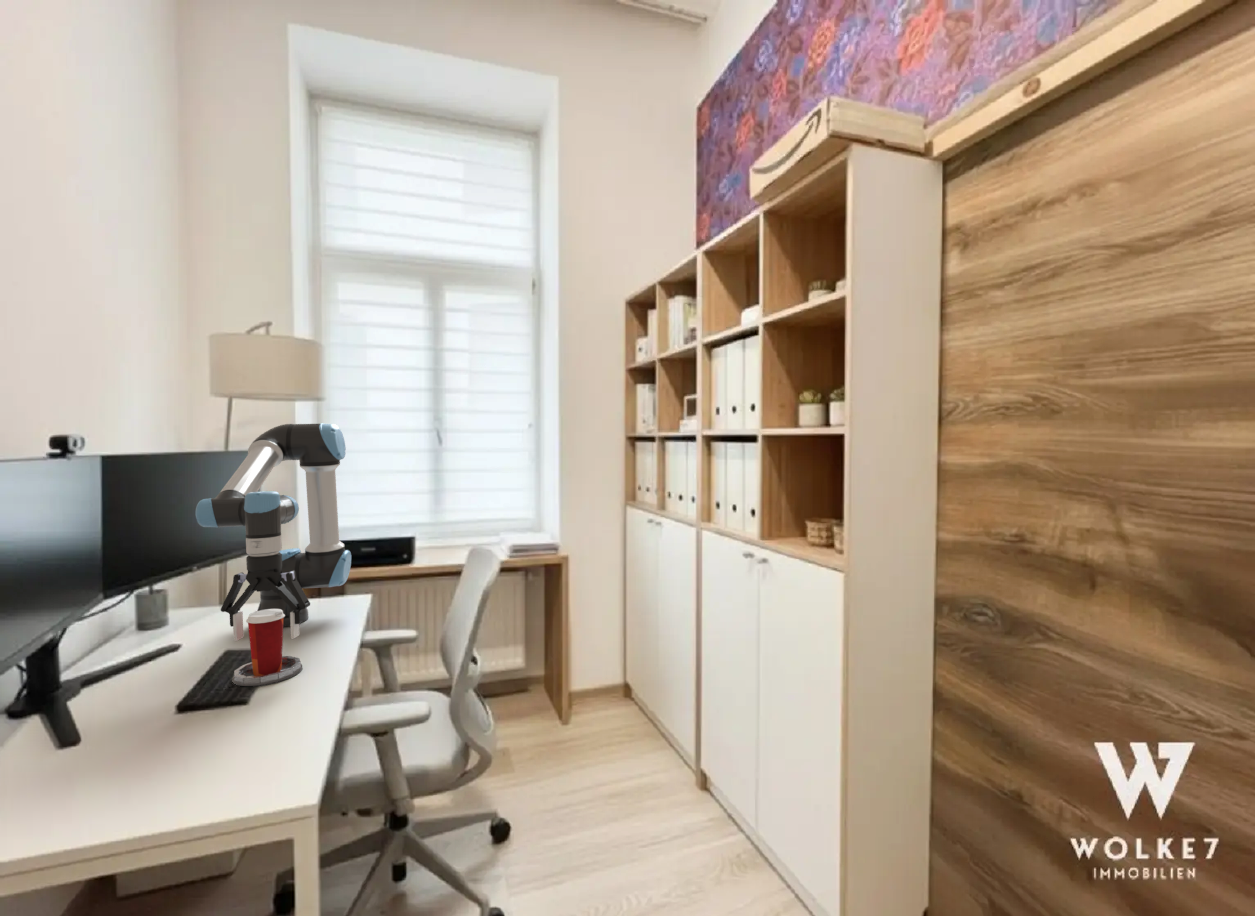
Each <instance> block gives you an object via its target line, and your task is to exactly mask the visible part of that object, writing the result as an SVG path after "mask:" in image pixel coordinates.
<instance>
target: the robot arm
mask: <svg viewBox="0 0 1255 916" xmlns="http://www.w3.org/2000/svg"><path fill="white" fill-rule="evenodd" d="M346 448H347V447H346V441H345V438H344V435H343V432H342V430H341V428H340V427H339V426H338V425H336V424H335V423H322V422H321V423H286V424H281V425H278V426H275V427H272V428H270V429H269V430H266V431H264V432H263V433H261V434H260V435H259V436H258V437H256V438H255V439H254V440H253V441H252V442H251V444H250V445H249V447H248V448H247V455H246V457H245V458H244V460H243V461H242V462H241V464H240V465H239V466H238V468H237V469H236V470H235V471H234V473H233V474H232V475H231V477H230V478H229V480H227V482H226V483H225V485H224V486H223V488H222V489H221V490H220V492H219V493H218V494H217V495H216V497H215V498H214V497H209V498H203V499H201V500H199V501H198V503H197V504H196V506H195V507H196V508H195V519H196V522H197V524H198V525H199V526H200V527H203V528H228V527H232V528H233V527H245V548H246V550H245V551H246V554H247V556H246V557H245V558H246V571H247V573H244V572H243V571H242V572H239V573H236V574H234V575H233V579H232V580H233V581H232V584H231V586H230V588H229V591H228V593H227V595H226V597H225V599H224V602H223V603H222V605H221V608H220V611H221V613H228V614H229V626H230V627H231V628H232V627H233V628H232V629H233V641H235V642H237V641H239V640H241V639H243V638H244V618H243V617H244V614H243V613H244V612H243V611H241V609H242V608H243V606H244V605H245V604H246V602H247V601H248V600H249V599H250V598H251V596H252V595H253V594H254V593H255V592H258V593H259V595H260V596H259V597H260V600H259V604H258V607H257V611H260V610H265V609H281V610H283V614H285V617H283V628H284V627H289V626H290V639H292V640H293V639H296V638H297V637H299V636H300V624H301V623H303V622H306V621H307V620H308V619H309V610H308V607H310V606H311V602H310V600H309V598H308V597H307V595H306V594H305V591H304V590H303V589H315V588H317V589H318V588H333V587H340V586H343V585H344V584H345V583H347V581H348V578H349V576H350V575H349V574H350V572H351V566H352V553H351V551H350V550H349V549H346V548H345V543H343V542H342V541H341V540H340V535H339V532H340V529H339V516H338V515H339V513H338V499H337V498H338V495H337V479H336V475H337V474H336V469H337V468H338V467H339V466H341V460H343V459H344V458H345V457H346ZM284 461H299V467H300V468H301V469H302V470H304V472H305V483H306V487H305V488H306V501H307V502H306V503H307V515H308V516H307V517H308V530H309V531H308V532H309V544H308V545H307V546H306V547H305V549H304V552H302V551H301V548H298V547H293V548H287V549H283V548H282V546H283V545H282V525H285V524H287V523H289V522H291V521H293V520H294V519H296V517H297V516H298V513H299V509H300V508H299V504H298V502H297V500H296V499H295V498H293V496H289V495H284V494H280V493H279V492H278V491H276V490H265V491H259V490H260V488H261V487H262V485H264V483H265V481H266V480H267V478H268V476H270V473H271V472H272V471H273V469H274V468H275V467H278V466H279V465H280V464H281V463H282V462H284ZM246 581H247V583H248V584H249V585H248V586H247V587H246V588H245V589H244V592H243V593H242V594H240V595H241V596H239V598H237V597H238V595H239V593H240V591H241V589H242V587H243V585H244V583H245V582H246ZM236 599H237V600H236Z"/></svg>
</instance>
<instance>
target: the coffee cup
mask: <svg viewBox="0 0 1255 916" xmlns="http://www.w3.org/2000/svg"><path fill="white" fill-rule="evenodd" d="M283 617H285V614H283V610H281V609H265V610H260V611H256V610H255V611H253V612H251V613H250V614H249V615H248V617H247V619H246V620H245V622H246V623H247V628H248V637H249V646H250V647H249V648H250V656H251V657H250V658H251V662H252V667H253V674H254V676H263V675H268V674H273V673H277V672H280V671H281V668H282V656H283V643H284V641H283V639H284V627H283Z"/></svg>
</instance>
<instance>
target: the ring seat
mask: <svg viewBox="0 0 1255 916" xmlns="http://www.w3.org/2000/svg"><path fill="white" fill-rule="evenodd" d="M302 671H303V664H302V663H301V660H300V658H299V657H297V656H296V657H295V656H291V655H286V656H285V655H284V656H283V655H282V668H281V671H280V672H277V673H273V674H268V675H263V676H254V674H253V667H252V661H251V662H248V663H245V664H243V665H241V666H239V667H238V668H236V669H234V673H233V676H232V678H231V683H232V682H233V683H234V684H237V685H241V686H253V687H252V688H254V687H255V688H256V687H257V688H258V687H263V686H268V685H273V684H278V683H280V682H284V681H287V680H289V679H291V678H293V677H295V676H297V675H298V674H300V673H301V672H302ZM233 683H232V684H233ZM234 684H233V685H234Z"/></svg>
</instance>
